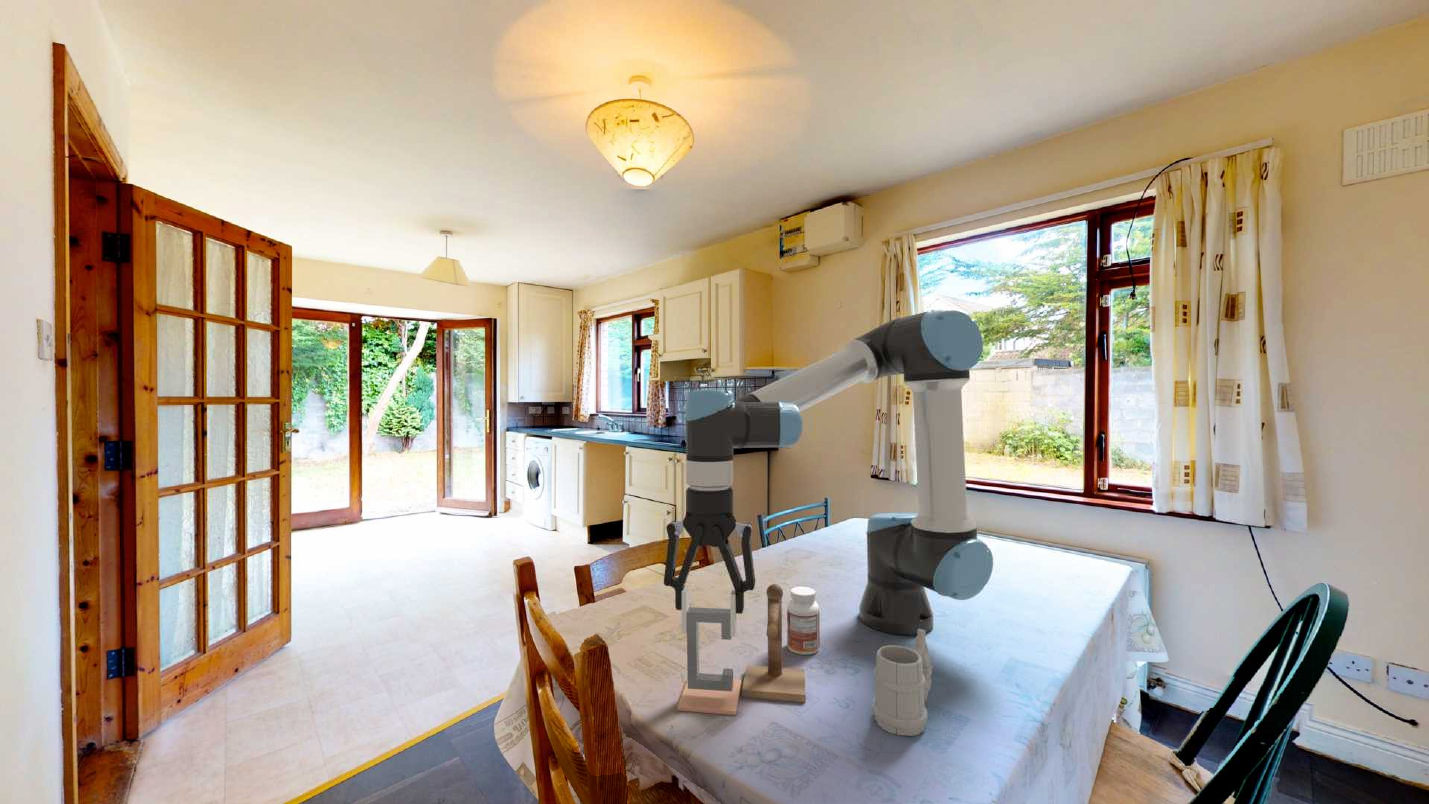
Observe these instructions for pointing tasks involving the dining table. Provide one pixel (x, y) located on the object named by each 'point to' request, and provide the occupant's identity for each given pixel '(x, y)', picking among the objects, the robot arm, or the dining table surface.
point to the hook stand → (774, 662)
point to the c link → (694, 677)
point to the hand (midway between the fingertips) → (709, 631)
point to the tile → (710, 700)
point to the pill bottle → (803, 622)
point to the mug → (902, 687)
